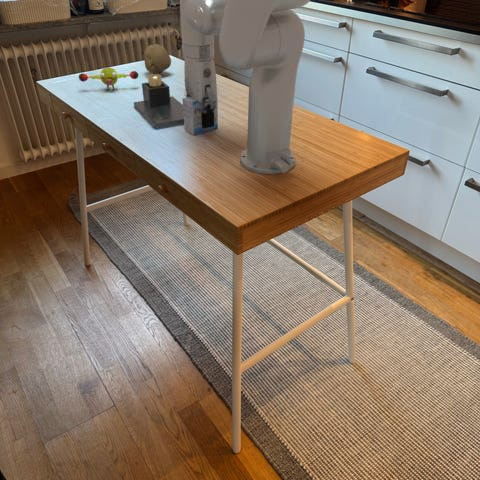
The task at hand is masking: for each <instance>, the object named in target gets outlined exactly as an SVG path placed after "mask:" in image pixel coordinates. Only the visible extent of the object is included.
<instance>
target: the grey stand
mask: <svg viewBox="0 0 480 480" xmlns="http://www.w3.org/2000/svg"><path fill="white" fill-rule="evenodd" d="M161 81H162V87H157V88H149V82H143V83H141V88H142V96H143V100H141V101H134V102H133V107H134V109H135V110H136V111H137V112H138V113H139V115H141V117H142V118H143V119H144V120H145V121H146V122H147V123H148V124H149V125H150V126H151V127H152V128H153V129H154V130H161V129H165V128H170V127H177V126H182V125H184V113H183V103H181V102H180V101H179V100H178V99H177V98H176V97H174V96H171V94H170V93H171V92H170V86H169V85H168V84H167V83H165V82H164V81H163V80H161Z"/></svg>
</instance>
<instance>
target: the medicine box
mask: <svg viewBox="0 0 480 480" xmlns="http://www.w3.org/2000/svg"><path fill="white" fill-rule="evenodd" d="M205 99H208V98H203V100H205ZM207 104H209V103H205V107H206V106H207ZM182 105H183V113H184V126H183V127H184V131H186V132H187V133H189V134H191V135H193V136H196V135H201V134H203V133H206V132H211V131H213V130H216V129H218V128H219V122H218V121H219V114H218V112H219V111H218V110H219V109H218V99H217V100H216V104H215V105H216V107H215V112H214V126H213V127H209V128H202V116H201V112H203V110H202V107H201V103H200V102H198V101H196V100H195V99H194V98H193V97H187V98H186V97H183V98H182Z"/></svg>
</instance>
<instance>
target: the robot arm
mask: <svg viewBox="0 0 480 480" xmlns="http://www.w3.org/2000/svg"><path fill="white" fill-rule="evenodd" d="M310 1H311V0H179V7H180V8H179V11H180V28H181V29H180V30H181V46H182V48H181V51H182V58H183V59H184V80H183V81H184V87H185V92H186V94H185V98H187V97H193V98H194V99H195V100H196V101H198V102H200V103H201V107H202V110H203V112H201V116H202V128H209V127H213V126H214V112H215V107H216V105H215V104H216V100H217V101H218V88H217V87H218V86H217V84H218V83H217V73H216V67H215V36H217V35H219V40H218V41H219V51H220V54H221V57H222V60H223V61H224V62H225V64H226V65H227V66H228V67H229V68H231V69H233V70H237V71H247V70H248V71H249V70H252V71H251V75H250V78H249V84H248V85H249V86H248V106H247V107H248V110H247V111H248V113H247V141H246V143H247V144H246V145H247V147H246V149H244V150H243V152H241V154H240V156H239V159H240V160H239V161H240V164H241V165H242V167H243V168H245V169H246V170H248V171H250V172H252V173H253V172H254V173H257V174H263V175H267V174H268V175H277V174H282V173H283V174H285V173H288V172H289V171H290V170H292V169H293V167H295V165H296V157H295V155H294V154H293V153H292V152H291V151H292V149H290V146H291V136H292V125H293V113H294V101H295V92H296V81H297V73H298V69H299V64H300V60H301V56H302V54H303V50H304V46H305V45H304V44H305V36H306V34H305V27H304V23H303V21H302V19H301V17H299V15H298V14H297V13H296V12H295V11H292V10H294V9H299V8H301V7H304V6H306V5H307V4H309V2H310ZM203 98H208V99H205V100H203ZM205 103H209V104H207V106H206V107H205Z"/></svg>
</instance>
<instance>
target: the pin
mask: <svg viewBox="0 0 480 480" xmlns="http://www.w3.org/2000/svg"><path fill="white" fill-rule="evenodd" d="M147 81H148V82H149V88H157V87H162V81H163V80H162V75H161V74H160V75H159V74H152V73H151V74H148V75H147ZM148 82H147V83H148Z"/></svg>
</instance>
